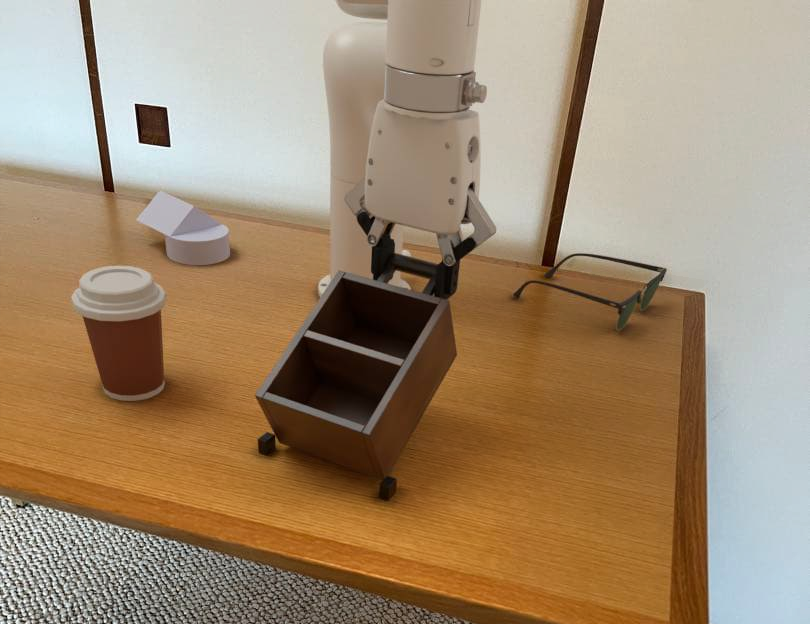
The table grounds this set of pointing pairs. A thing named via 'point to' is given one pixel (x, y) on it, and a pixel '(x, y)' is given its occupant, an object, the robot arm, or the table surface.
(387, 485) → the dark brown rod
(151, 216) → the wedge on round base
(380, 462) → the shelf
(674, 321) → the table surface
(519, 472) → the table surface
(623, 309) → the sunglasses
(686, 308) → the table surface
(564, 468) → the table surface
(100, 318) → the coffee cup
